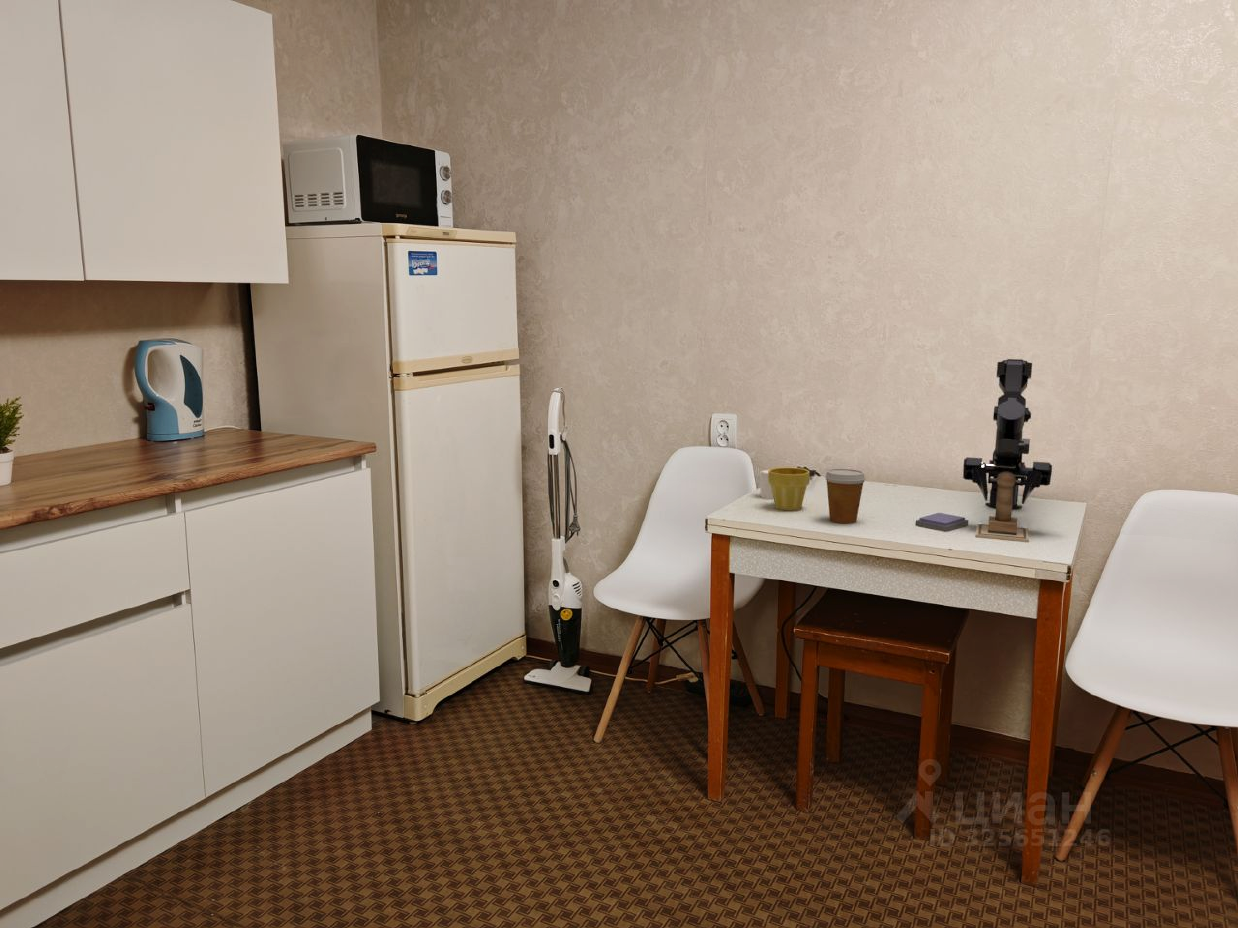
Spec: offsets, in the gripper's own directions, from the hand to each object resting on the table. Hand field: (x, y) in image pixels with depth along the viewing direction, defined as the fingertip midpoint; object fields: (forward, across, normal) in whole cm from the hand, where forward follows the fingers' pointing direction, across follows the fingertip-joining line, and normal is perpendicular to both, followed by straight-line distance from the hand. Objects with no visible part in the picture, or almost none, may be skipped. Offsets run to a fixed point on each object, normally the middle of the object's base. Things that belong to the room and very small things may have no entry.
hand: (1004, 501), depth 212 cm
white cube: (-8, -58, +20) cm, 62 cm away
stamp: (+4, 0, +6) cm, 7 cm away
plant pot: (0, -51, +12) cm, 52 cm away
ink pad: (+2, -13, +9) cm, 16 cm away
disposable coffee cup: (+6, -36, +6) cm, 37 cm away
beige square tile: (+5, 0, +6) cm, 8 cm away
